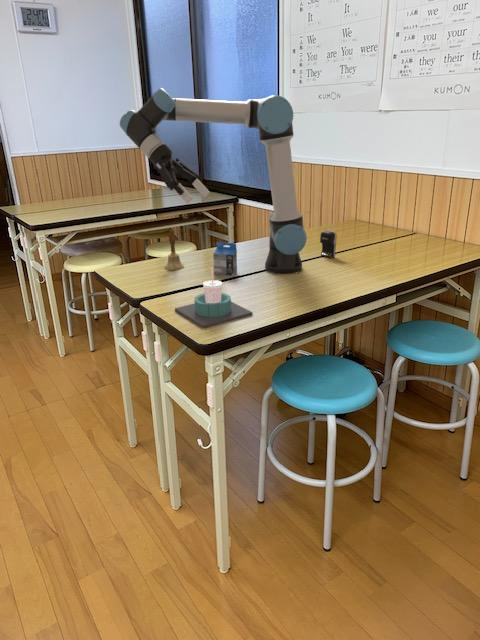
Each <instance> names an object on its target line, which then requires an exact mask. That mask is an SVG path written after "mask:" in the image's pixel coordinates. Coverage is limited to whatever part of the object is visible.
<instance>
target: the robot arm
mask: <svg viewBox="0 0 480 640" xmlns="http://www.w3.org/2000/svg"><path fill="white" fill-rule="evenodd" d="M293 120H294V110H293V106H292V104H291V103H290V102H289V100H287V99H286V98H285V97H284V96H281V95H277V94H275V95H269V96H267V97H264V98H259V99H248V100H246V101H233V100H232V101H231V100H230V101H229V100H218V99H217V100H215V99H214V100H213V99H211V100H210V99H196V98H178V97H172V96H171V95H170V94H169V93H168V92H167V91H166V90H165V89H164V88H162V87H159V88H158V89H157V90H156V91H155V92H153V94H152V95H151V97H149V98H148V100H147V101H146V102H144V104H143V106H141V108H140V109H139V110H138V111H136V110H135V109H130V110H127V112H125V113H124V114H123V115H122V116H121V118H120V120H119V127H120V128H121V129H122V130H123V132H124V133H125V135H126V136H127V137H128V138H129V139H130V140H131V141H132V142H133V144H134V145H135V146H137V148H138V149H139V150H140V151H141V152H142V153H143V154H142V155H144V156H146V158H148V159H149V161H150V162H151V163H152V164H153V165H154V168H155V169H156V170H157V171H158V173H159V175H160V177H161V178H162V180H163V182H164V184H165V186H166V187H167V189H169V190H170V191H173V190H174V191H175V192H176V193H177V194H178V195H179V196H180V198H181V199H182V200H184V202H185V203H186V204H189V203H190V202H191V201H192V200H193V199H194V196H192V194H191V193H189V191H188V190H187V189H186V188H185V187H184V186H183V185H182V184H181V183H180V182H179V183H178V180H177V176H176V175H178V176H180V177H183V178H184V179H186V180H187V181H189V182H190V183H192V184H191V185H192V186H193V187H194V189H196V191H197V192H198V193H200V195H201V196H202V197H203V198H207V197H208V195H209V194H210V193H211V191H209V189H208V188H207V187H206V186H205V185H204V184H203V183H202V181H200V180H199V178H200V174H198V173H196V172H195V171H194V170H193V169H191V168H190V167H189V166H187V165H186V164H185V163H183V162H182V161H181V160H180V159H179V157H177V158H176V159H174V158H172V156H173V151H172V150H171V148H170V147H169V146H168V145H167V144H165V142H164V141H163V139H161V137H159V135H157V133H156V132H154V130H155V129H156V128H157V126H159V124H161V122H163V121H172V122H174V121H175V122H191V123H194V122H195V123H210V124H225V125H226V124H228V125H229V124H230V125H242V126H245V127H246V128H248V129H256V130H258V134H259V135H258V136H259V141H260V143H262V144H263V145H264V147H265V153H266V161H267V162H266V163H267V168H268V177H269V184H270V191H271V199H272V206H273V208H272V209H273V213H270V215H269V219H268V222H269V243H268V244H269V245H268V247H269V251H268V254H267V256H266V257H267V258H266V260H265V263H264V270H265V271H267V272H268V273H272V274H279V275H288V274H289V275H291V274H296V272H297V273H299V272H301V271H302V270H303V262H302V259H301V255H300V252H301V251H302V250H304V247H305V246H306V244H307V237H308V236H307V232H306V230H305V228H304V226H305V225H304V220H303V219H304V218H303V213H302V212H300V211H299V210H298V203H297V193H296V186H295V185H296V184H295V176H294V175H295V174H294V168H293V167H294V166H293V159H292V149H291V140H292V138H293V137H294V136H295V135H294V127H293Z"/></svg>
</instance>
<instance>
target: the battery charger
mask: <svg viewBox="0 0 480 640" xmlns="http://www.w3.org/2000/svg"><path fill="white" fill-rule="evenodd" d="M319 241H320V242H319V243H320V244H321V248H322V249H321V253H320V256H321V257H323V256H326V257H325V258H327V257H334V258H335V257H336V250H337V249H336V248H337V233H336V232H335V231H332V230H323V231H322V232H321V233H320V237H319Z"/></svg>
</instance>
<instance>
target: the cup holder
mask: <svg viewBox="0 0 480 640" xmlns="http://www.w3.org/2000/svg"><path fill="white" fill-rule="evenodd" d="M174 311H175V313H177V314H179V315H180V316H182V317H184V318H185V319H187V320H189V321H190V322H192V323H193V324H195V325H197V326H198V327H200V329H203V328H204V329H208V328H211V327H214V326H218V325H221V323H222V324H225V322H226V323H228V321H229V322H232V320H233V321H236V319H237V320H240V319H243V317H244V318H247V317H251V316H253V312H252V311H251V310H249V309H247V308H245V307H243V306H241V305H239V304H238V303H235V302H233V301H232V298H231V296H230V295H229V294H227V293H223V292H221V302H219V303H206V300H205V292H204V293H200V294H198V295H196V296H194V303H191V304H187V305H183V306H179V307H175V308H174ZM250 315H251V316H250Z"/></svg>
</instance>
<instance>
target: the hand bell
mask: <svg viewBox="0 0 480 640" xmlns="http://www.w3.org/2000/svg"><path fill="white" fill-rule="evenodd" d="M168 232H169V233H168V241H169V244H170V254H168V256H167V262H166V264H165V265H164V269H165V270H167V271H178V269H179V270H182V269H184V268H185V265H184V264H183V263H182V261H181V258H180V255H179V253H176V247H175V243H176V235H175V232H174V230H173V229H169V231H168Z"/></svg>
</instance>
